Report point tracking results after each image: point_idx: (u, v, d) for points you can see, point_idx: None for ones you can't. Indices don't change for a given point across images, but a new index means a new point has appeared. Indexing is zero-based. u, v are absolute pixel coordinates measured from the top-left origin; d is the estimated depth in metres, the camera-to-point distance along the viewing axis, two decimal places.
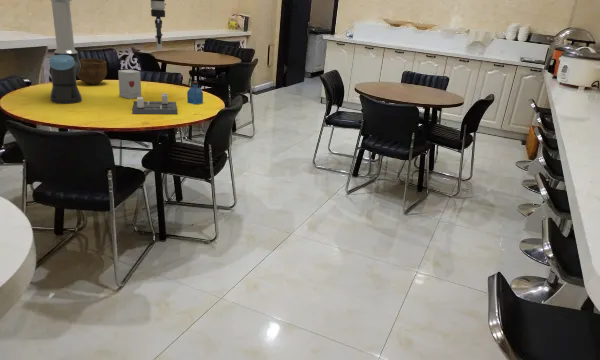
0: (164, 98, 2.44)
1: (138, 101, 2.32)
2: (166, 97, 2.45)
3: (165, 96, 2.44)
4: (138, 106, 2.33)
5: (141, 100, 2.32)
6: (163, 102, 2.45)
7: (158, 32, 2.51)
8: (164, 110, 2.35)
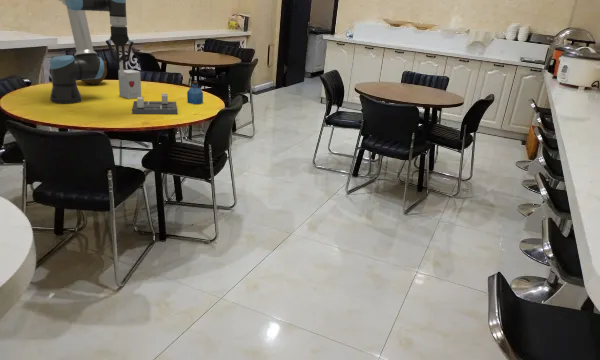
0: (164, 98, 2.44)
1: (138, 101, 2.32)
2: (166, 97, 2.45)
3: (165, 96, 2.44)
4: (138, 106, 2.33)
5: (141, 100, 2.32)
6: (163, 102, 2.45)
7: None
8: (164, 110, 2.35)
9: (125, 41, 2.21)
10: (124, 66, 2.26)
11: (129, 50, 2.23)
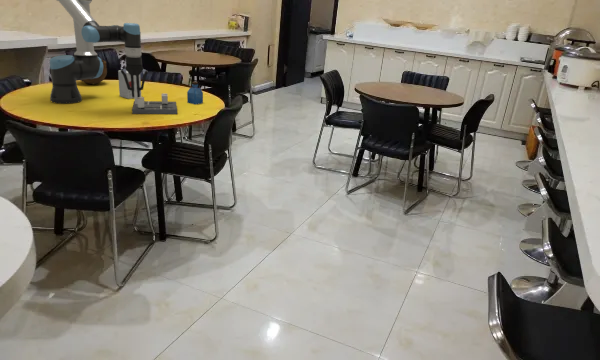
0: (164, 98, 2.44)
1: (139, 101, 2.32)
2: (166, 97, 2.45)
3: (165, 96, 2.44)
4: (139, 106, 2.33)
5: (142, 100, 2.32)
6: (163, 102, 2.45)
7: None
8: (164, 110, 2.35)
9: (139, 71, 2.28)
10: (138, 94, 2.32)
11: (143, 79, 2.30)
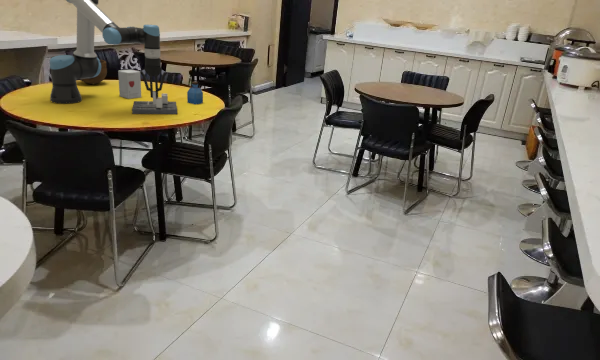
0: (164, 98, 2.44)
1: (157, 101, 2.35)
2: (166, 97, 2.45)
3: (165, 96, 2.44)
4: (157, 106, 2.35)
5: (160, 100, 2.35)
6: (163, 102, 2.45)
7: (145, 85, 2.33)
8: (164, 110, 2.35)
9: (158, 71, 2.31)
10: (157, 95, 2.35)
11: (162, 80, 2.33)
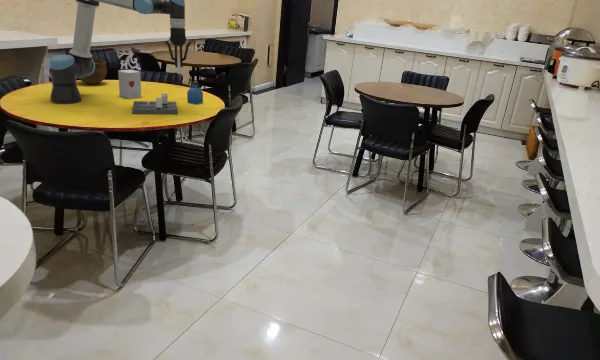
0: (164, 98, 2.44)
1: (157, 101, 2.35)
2: (166, 97, 2.45)
3: (165, 96, 2.44)
4: (157, 106, 2.35)
5: (160, 100, 2.35)
6: (163, 102, 2.45)
7: None
8: (164, 110, 2.35)
9: (183, 41, 2.38)
10: (181, 65, 2.42)
11: (186, 50, 2.40)
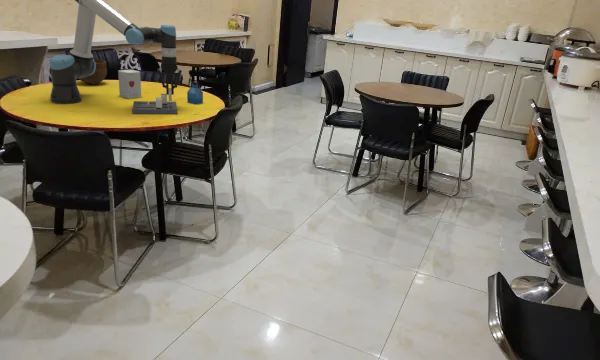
0: (163, 98, 2.44)
1: (157, 101, 2.35)
2: (165, 97, 2.45)
3: (164, 96, 2.44)
4: (157, 106, 2.35)
5: (160, 100, 2.35)
6: (162, 102, 2.45)
7: None
8: (164, 110, 2.35)
9: (174, 70, 2.42)
10: (172, 92, 2.46)
11: (177, 78, 2.44)
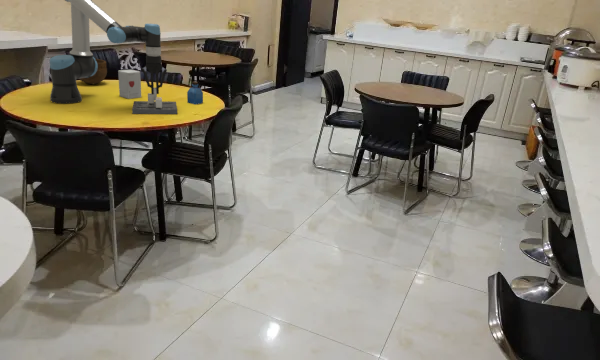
0: (150, 97, 2.43)
1: (157, 101, 2.35)
2: (152, 97, 2.43)
3: (151, 96, 2.42)
4: (157, 106, 2.35)
5: (160, 100, 2.35)
6: (149, 102, 2.43)
7: None
8: (164, 110, 2.35)
9: (159, 69, 2.40)
10: (157, 91, 2.44)
11: (162, 77, 2.42)
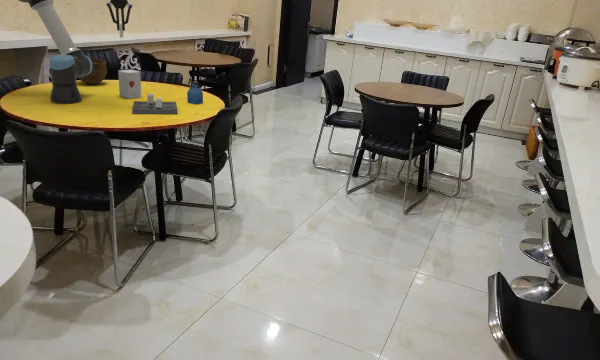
0: (150, 97, 2.42)
1: (157, 101, 2.35)
2: (152, 97, 2.43)
3: (151, 96, 2.42)
4: (157, 106, 2.35)
5: (160, 100, 2.35)
6: (149, 102, 2.43)
7: (112, 18, 2.40)
8: (164, 110, 2.35)
9: (124, 4, 2.38)
10: (123, 28, 2.43)
11: (128, 13, 2.40)
